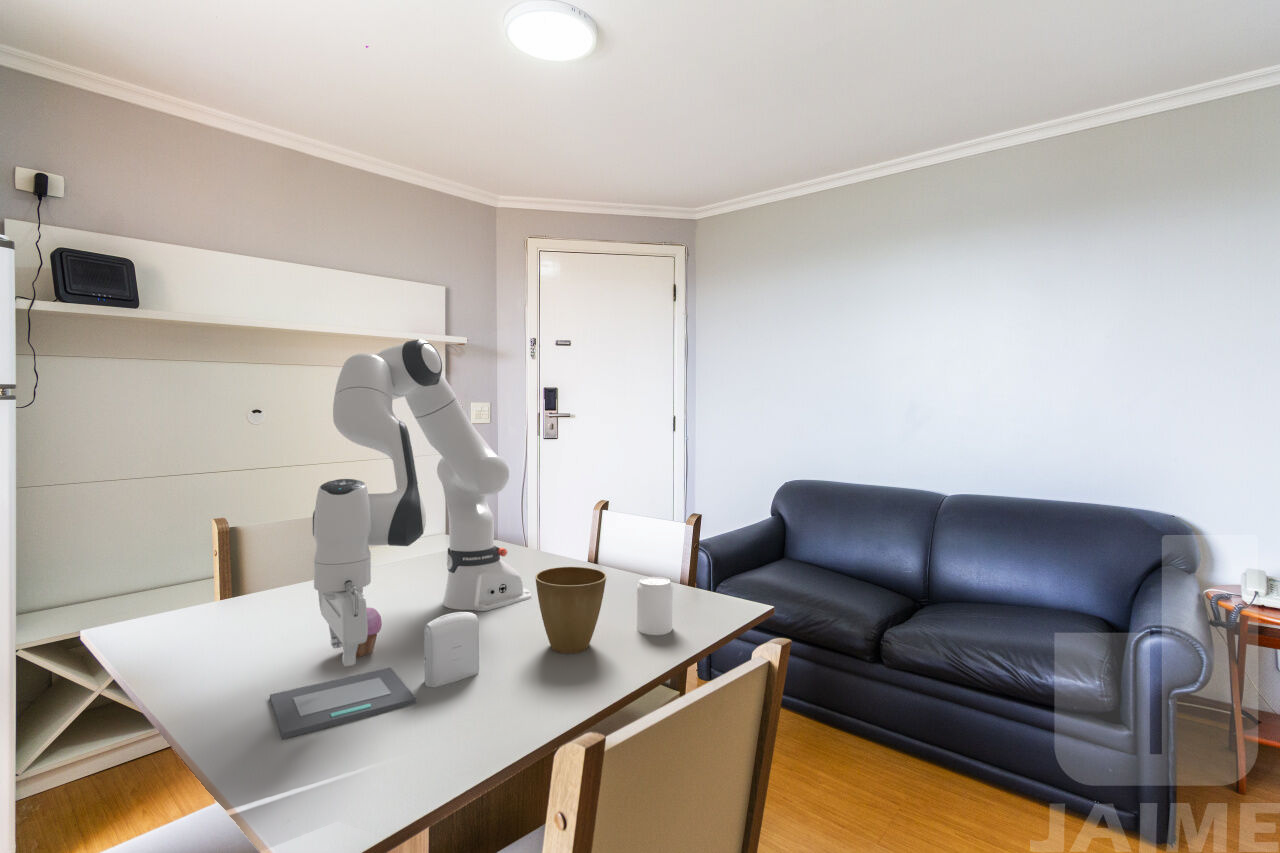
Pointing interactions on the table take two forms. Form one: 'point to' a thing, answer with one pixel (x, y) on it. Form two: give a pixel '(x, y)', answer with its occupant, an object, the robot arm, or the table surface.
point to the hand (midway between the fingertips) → (342, 655)
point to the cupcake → (370, 632)
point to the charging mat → (339, 701)
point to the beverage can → (654, 606)
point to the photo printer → (451, 648)
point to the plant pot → (570, 605)
